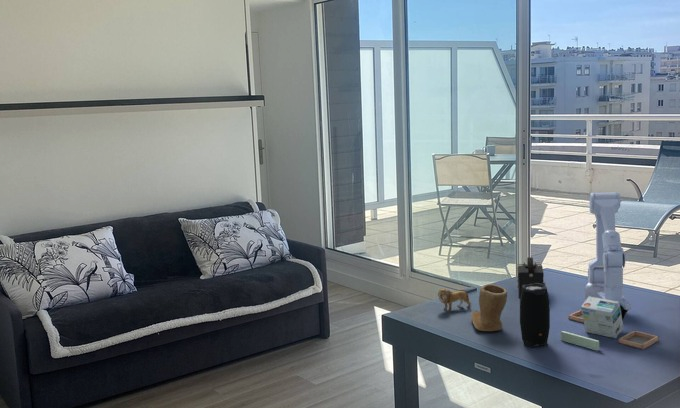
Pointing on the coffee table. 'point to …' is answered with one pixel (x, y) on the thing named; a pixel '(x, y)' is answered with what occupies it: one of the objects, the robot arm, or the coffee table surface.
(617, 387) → the coffee table surface
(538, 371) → the coffee table surface
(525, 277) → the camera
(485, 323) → the tan boot
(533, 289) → the portable speaker
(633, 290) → the coffee table surface
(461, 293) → the lion figurine
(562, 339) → the square frames and block
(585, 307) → the light bulb box
